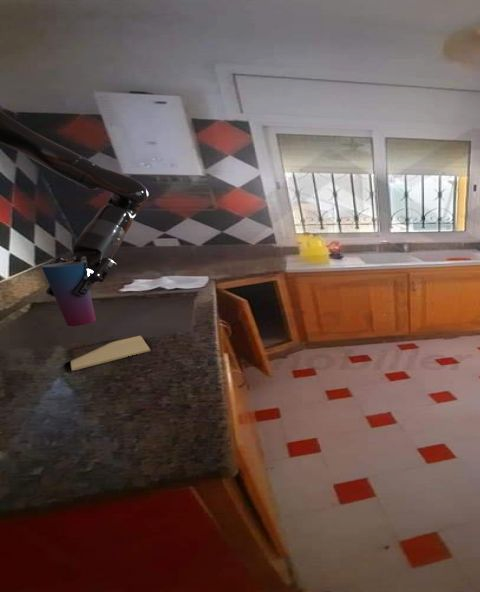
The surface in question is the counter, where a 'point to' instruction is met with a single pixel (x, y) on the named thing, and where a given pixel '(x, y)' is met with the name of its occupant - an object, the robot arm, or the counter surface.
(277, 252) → the counter surface
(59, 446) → the counter surface
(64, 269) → the cup
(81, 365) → the mat
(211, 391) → the counter surface
